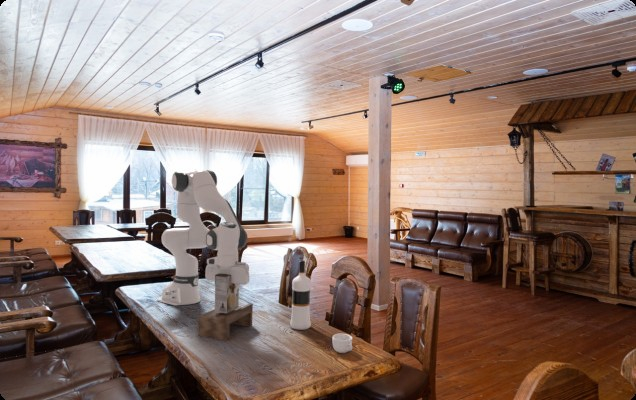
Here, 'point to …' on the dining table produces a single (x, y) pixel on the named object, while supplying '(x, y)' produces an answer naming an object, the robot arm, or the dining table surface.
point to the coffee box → (225, 294)
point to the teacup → (342, 342)
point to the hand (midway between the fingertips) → (226, 292)
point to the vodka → (301, 300)
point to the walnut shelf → (224, 322)
